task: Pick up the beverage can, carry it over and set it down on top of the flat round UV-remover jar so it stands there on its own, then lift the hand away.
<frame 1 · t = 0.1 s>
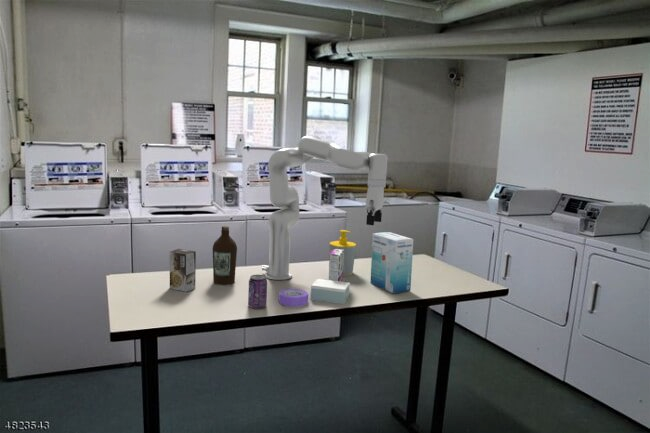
hand: (373, 223, 217), 31 cm above the table, tool pointing down, fingers open, 9 cm apart
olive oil: (223, 282, 227), on the table
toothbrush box: (389, 287, 233), on the table
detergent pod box: (329, 298, 213), on the table
masking tape: (293, 302, 207), on the table
candy bar box: (335, 287, 228), on the table
beverage can: (257, 306, 198), on the table
soap bottle: (341, 272, 253), on the table
coffee box: (182, 288, 215), on the table
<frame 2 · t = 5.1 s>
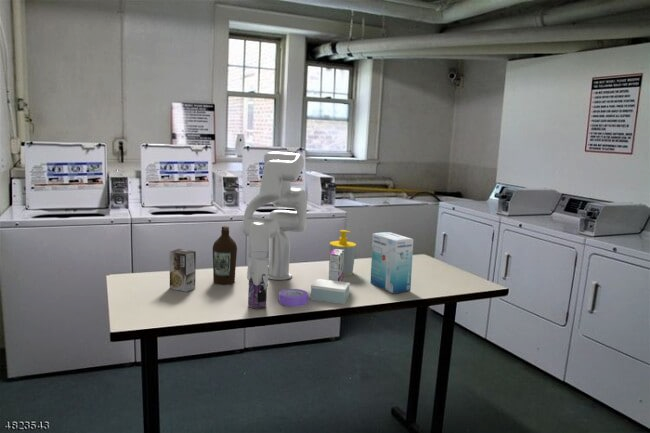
hand: (257, 298, 198), 3 cm above the table, tool pointing down, fingers closed on beverage can, 7 cm apart
beverage can: (257, 306, 198), on the table, touching gripper
everything else where it was.
when the fingers open (9 cm above the table, at t = 10.6 s): beverage can drops 2 cm, resting on masking tape.
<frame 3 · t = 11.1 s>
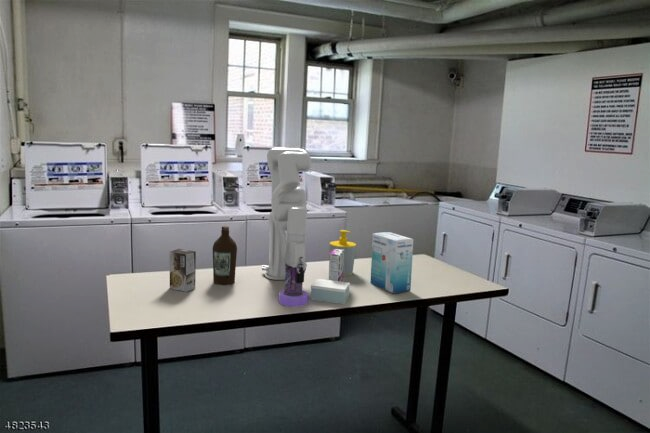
hand: (294, 279, 205), 9 cm above the table, tool pointing down, fingers open, 9 cm apart
masking tape: (293, 302, 207), on the table, touching beverage can
beverage can: (293, 293, 206), point 3 cm above the table, touching masking tape
everything else where it was.
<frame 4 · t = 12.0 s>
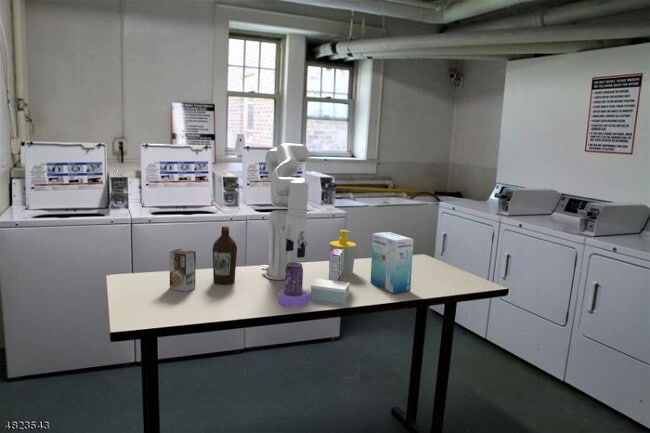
hand: (295, 254, 204), 20 cm above the table, tool pointing down, fingers open, 9 cm apart
nothing on the table moved.
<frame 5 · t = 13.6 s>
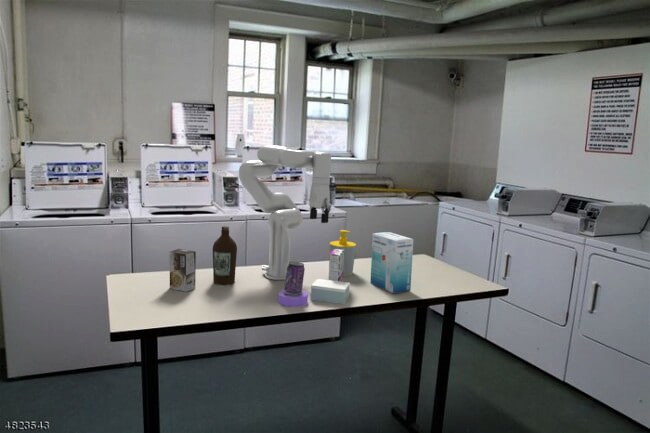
hand: (318, 220, 220), 30 cm above the table, tool pointing down, fingers open, 9 cm apart
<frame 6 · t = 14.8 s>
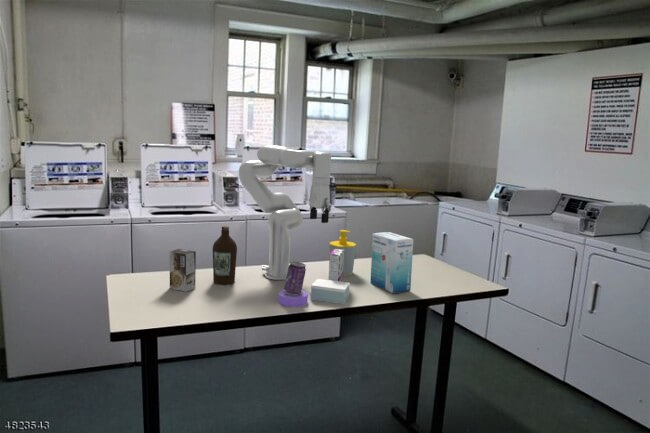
hand: (318, 220, 221), 30 cm above the table, tool pointing down, fingers open, 9 cm apart
masking tape: (292, 303, 206), on the table
beverage can: (292, 292, 205), point 4 cm above the table
everything else where it was.
at the end: beverage can inside the target area on the masking tape (0.5 cm from its centre), point 4.4 cm above the masking tape's base; beverage can tilted 9°; the gripper is holding nothing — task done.
